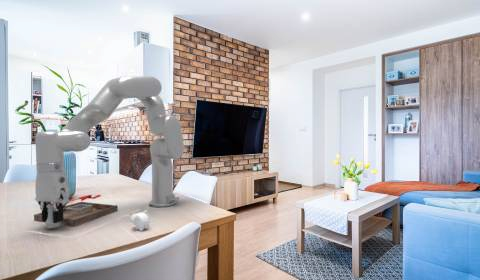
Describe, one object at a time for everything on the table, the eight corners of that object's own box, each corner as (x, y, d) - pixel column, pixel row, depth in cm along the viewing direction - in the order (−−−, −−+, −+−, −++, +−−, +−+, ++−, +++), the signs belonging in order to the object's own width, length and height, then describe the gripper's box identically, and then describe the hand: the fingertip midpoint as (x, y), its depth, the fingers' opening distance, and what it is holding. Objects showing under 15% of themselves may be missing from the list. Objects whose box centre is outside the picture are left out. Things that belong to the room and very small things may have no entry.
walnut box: (117, 212, 110) (117, 205, 110) (74, 228, 90) (74, 220, 90) (81, 208, 115) (81, 201, 115) (34, 222, 96) (34, 214, 96)
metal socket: (92, 210, 109) (92, 205, 109) (78, 215, 102) (78, 209, 102) (80, 209, 111) (80, 203, 111) (65, 214, 104) (65, 208, 104)
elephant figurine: (141, 224, 96) (141, 208, 96) (156, 228, 92) (156, 211, 91) (124, 229, 90) (124, 212, 90) (140, 234, 86) (140, 216, 86)
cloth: (45, 211, 113) (45, 206, 113) (40, 205, 123) (40, 200, 123) (108, 200, 132) (108, 196, 132) (99, 196, 141) (99, 192, 141)
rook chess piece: (50, 223, 90) (49, 201, 90) (63, 223, 90) (62, 200, 90) (41, 228, 85) (40, 205, 85) (55, 228, 86) (54, 204, 85)
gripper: (79, 167, 88) (81, 219, 89) (43, 165, 93) (46, 215, 94) (58, 170, 81) (60, 227, 82) (20, 168, 86) (23, 222, 87)
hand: (52, 220), depth 88 cm, fingers closed on rook chess piece, 4 cm apart
